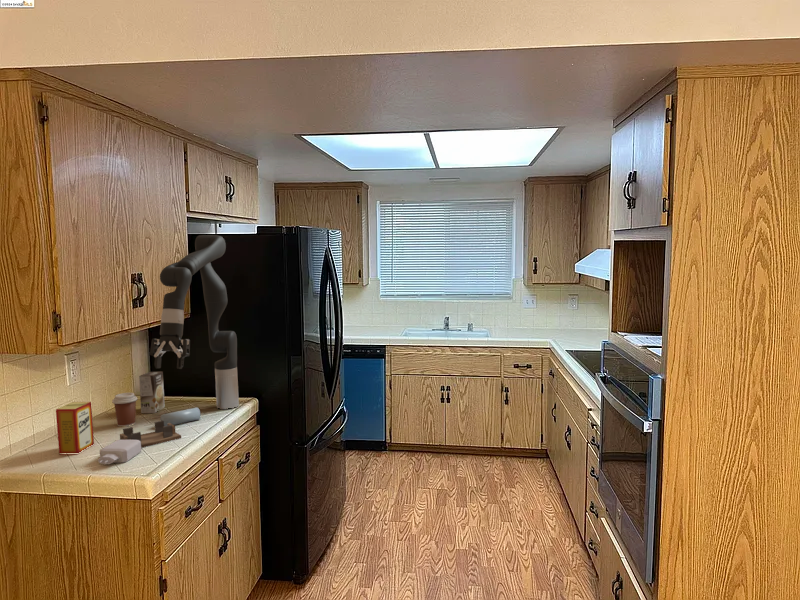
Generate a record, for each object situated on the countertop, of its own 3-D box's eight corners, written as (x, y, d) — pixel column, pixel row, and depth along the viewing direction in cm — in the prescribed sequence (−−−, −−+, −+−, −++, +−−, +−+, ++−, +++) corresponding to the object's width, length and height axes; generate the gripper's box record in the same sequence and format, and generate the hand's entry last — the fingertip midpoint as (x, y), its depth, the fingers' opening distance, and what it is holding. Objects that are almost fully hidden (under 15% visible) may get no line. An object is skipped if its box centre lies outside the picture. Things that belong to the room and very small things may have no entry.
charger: (88, 470, 180) (115, 453, 195) (116, 470, 180) (141, 453, 195) (87, 455, 180) (114, 439, 195) (115, 455, 179) (140, 439, 194)
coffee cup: (141, 420, 233) (139, 391, 231) (136, 426, 224) (134, 396, 223) (116, 422, 230) (114, 392, 229) (111, 429, 222) (109, 398, 220)
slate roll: (165, 429, 221) (165, 416, 220) (160, 425, 225) (160, 413, 224) (200, 421, 231) (200, 409, 230) (195, 417, 234) (195, 405, 233)
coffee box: (155, 413, 242) (153, 375, 241) (140, 413, 242) (138, 376, 241) (165, 407, 251) (163, 371, 250) (151, 407, 251) (148, 371, 250)
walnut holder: (115, 443, 205) (114, 429, 204) (168, 430, 217) (167, 418, 217) (126, 451, 196) (125, 437, 195) (181, 438, 209) (180, 424, 208)
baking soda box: (77, 454, 194) (74, 408, 193) (59, 454, 194) (55, 408, 193) (94, 444, 204) (90, 400, 202) (76, 444, 204) (73, 400, 202)
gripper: (196, 323, 205) (192, 369, 203) (161, 323, 208) (157, 368, 206) (183, 321, 198) (180, 368, 196) (147, 321, 201) (143, 367, 199)
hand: (168, 368), depth 201 cm, fingers open, 8 cm apart
